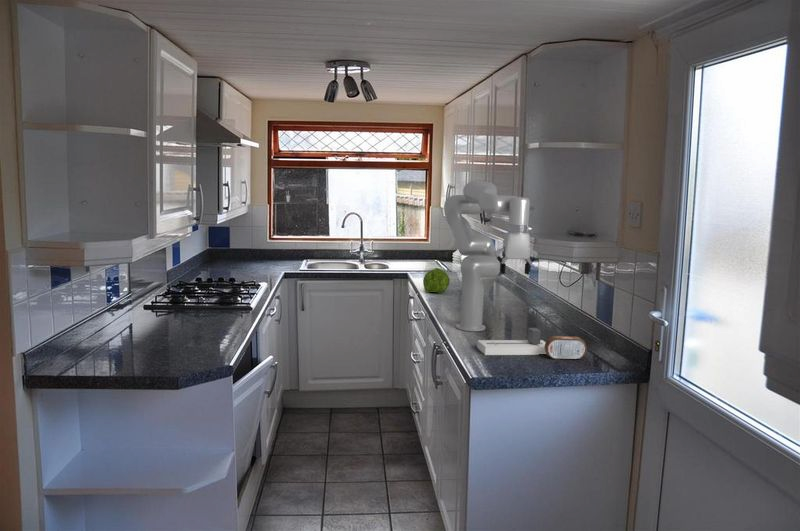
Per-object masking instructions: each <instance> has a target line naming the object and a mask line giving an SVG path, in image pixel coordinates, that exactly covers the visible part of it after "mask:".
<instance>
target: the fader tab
mask: <svg viewBox="0 0 800 531" xmlns="http://www.w3.org/2000/svg"><path fill="white" fill-rule="evenodd" d="M527 330H528V331H527V332H528V333H527V340H528V341H529V342H530V343H532V344H540V340H541V336H542V335H541V334H542V330H540V329H538V328H536V327H528V329H527Z"/></svg>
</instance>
